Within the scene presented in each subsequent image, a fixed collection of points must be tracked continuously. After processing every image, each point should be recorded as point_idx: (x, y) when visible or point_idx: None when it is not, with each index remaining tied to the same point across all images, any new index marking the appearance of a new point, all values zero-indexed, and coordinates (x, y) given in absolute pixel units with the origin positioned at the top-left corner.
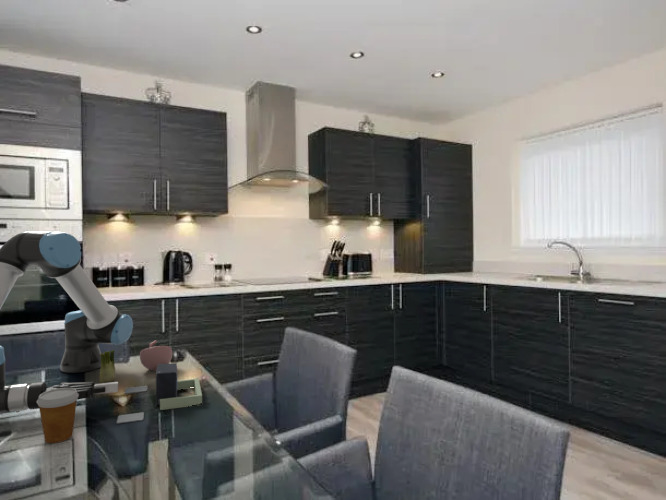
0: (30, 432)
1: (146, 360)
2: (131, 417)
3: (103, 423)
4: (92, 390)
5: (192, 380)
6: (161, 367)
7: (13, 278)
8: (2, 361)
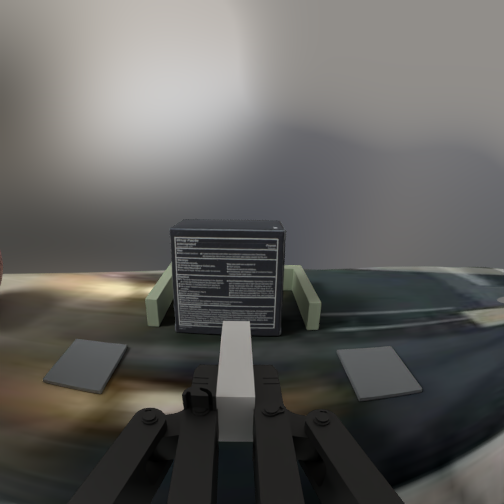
0: None
1: None
2: (378, 367)
3: (421, 425)
4: (289, 417)
5: None
6: (221, 225)
7: None
8: None
